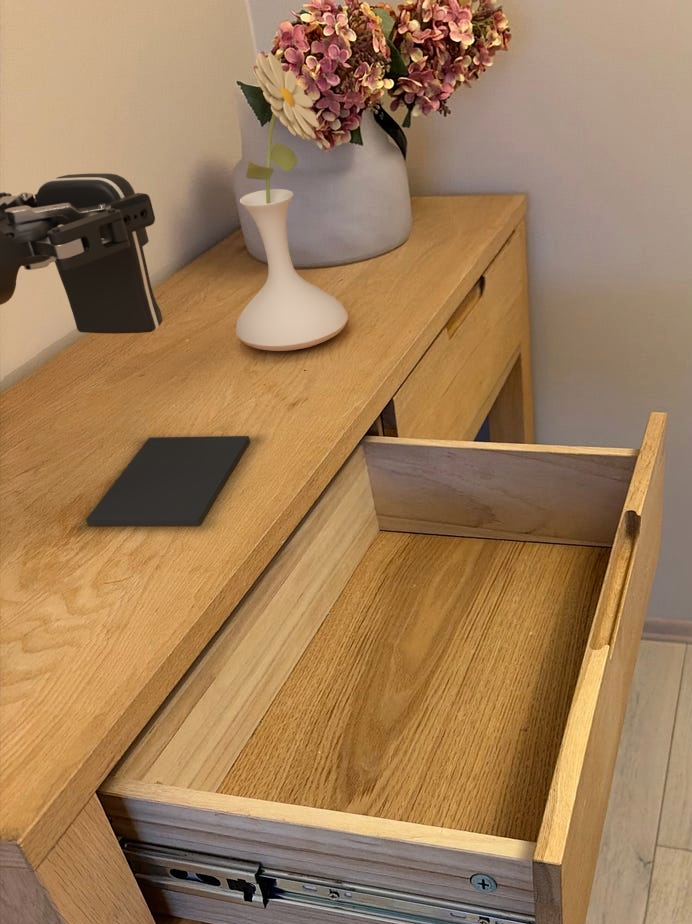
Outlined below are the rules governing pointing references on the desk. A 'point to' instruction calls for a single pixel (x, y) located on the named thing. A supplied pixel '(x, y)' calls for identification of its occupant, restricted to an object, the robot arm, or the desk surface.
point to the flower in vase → (284, 235)
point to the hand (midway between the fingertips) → (113, 202)
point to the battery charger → (105, 263)
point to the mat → (170, 482)
